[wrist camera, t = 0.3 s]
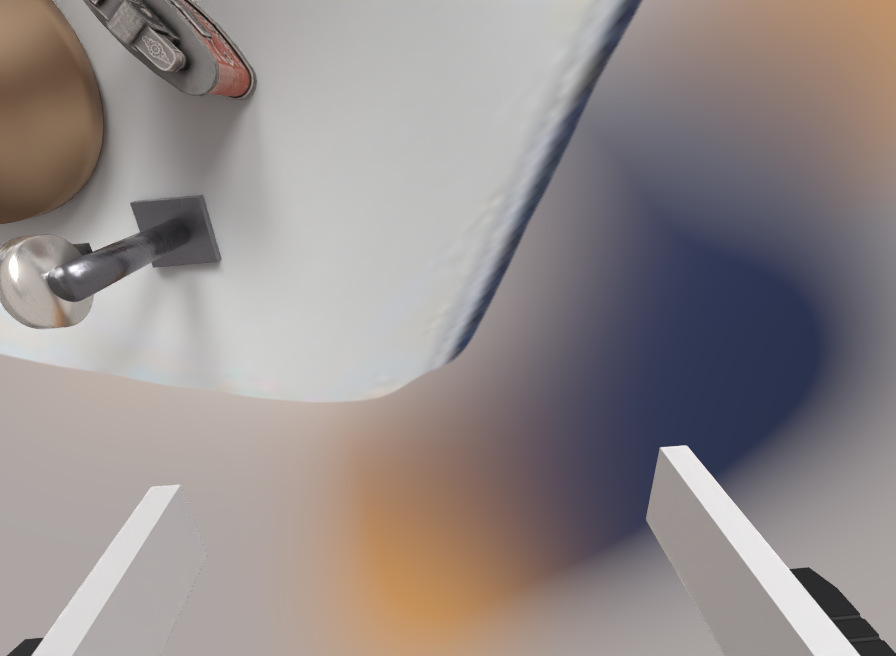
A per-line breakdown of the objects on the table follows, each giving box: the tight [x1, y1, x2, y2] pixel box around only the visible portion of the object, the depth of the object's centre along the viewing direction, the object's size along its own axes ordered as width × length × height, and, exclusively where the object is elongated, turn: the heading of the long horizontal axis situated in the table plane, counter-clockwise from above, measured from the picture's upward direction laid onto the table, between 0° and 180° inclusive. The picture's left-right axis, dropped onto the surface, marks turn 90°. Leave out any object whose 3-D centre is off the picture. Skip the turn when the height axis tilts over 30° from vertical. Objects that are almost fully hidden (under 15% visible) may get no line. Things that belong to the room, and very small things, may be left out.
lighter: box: [83, 0, 257, 100], centre depth 27 cm, size 8×3×10 cm, turn 43°
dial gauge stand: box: [0, 195, 221, 329], centre depth 29 cm, size 5×8×14 cm, turn 95°
